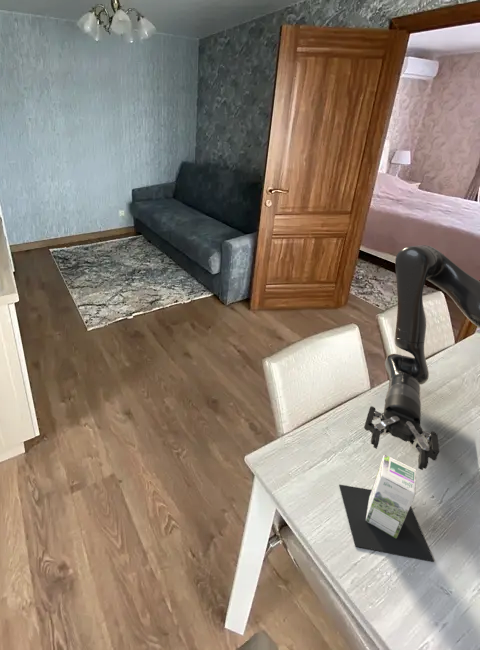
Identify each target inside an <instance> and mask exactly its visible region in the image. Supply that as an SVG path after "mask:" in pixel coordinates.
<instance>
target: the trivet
mask: <svg viewBox="0 0 480 650" xmlns="http://www.w3.org/2000/svg"><path fill="white" fill-rule="evenodd" d="M338 486H339V490H340V495H341V498H342V501H343V505H344V509H345V513H346V517H347V521H348V524H349V528H350V532H351V536H352V539H353V543H354V547H355V548H359V549H364V550H368V551H375V552H380V553H385V554H391V555H395V556H401V557H406V558H412V559H417V560H422V561H427V562H432V563H433V562H435V560H434V558H433V555H432V552H431V550H430V548H429V546H428V543H427V541H426V539H425V537H424V534H423V532H422V530H421V527H420V524H419V522H418V519H417V517H416V515H415V513H414V511H413V509H412V505H411V506H410V509H409V511H408V513H407V515H406V518H405V520H404V522H403V525H402V527H401V529H400V532H399V534H398V536H397V538H394V537H392V536H390V535H389V534H387V533H385V532H384V531H382V530H380V529H378V528H377V527H375V526H373V525H371V524H370V523H368V522H366V515H367V508H368V502H369V496H370V493H371V491H372V489H369V488H364V487H363V488H362V487H357V486H352V485H346V484H339V485H338Z"/></svg>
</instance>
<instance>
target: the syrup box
mask: <svg viewBox="0 0 480 650" xmlns="http://www.w3.org/2000/svg"><path fill="white" fill-rule="evenodd" d="M379 464H380V465H379V468H378V469H377V473H376V476H375V479H374V482H373V485H372V488H371V490H372V491H371V493H370V496H369V502H368V508H367V515H366V522H368V523H370V524H371V525H373V526H375V527H377V528H378V529H380V530H382V531H384V532H385V533H387V534H389V535H390V536H392V537H394V538H397V536H398V534H399V532H400V529H401V527H402V525H403V522H404V520H405V518H406V515H407V513H408V511H409V509H410V506H411V507H412V504H413V503H414V502H413V501H414V499H415V497H416V492H417V491H416V490H417V489H416V488H417V469H416V468H414V467H412V466H410V465H408V464H405V463H403V462H401V461H399V460H397V459H394V458H393V457H391V456H389V455H387V454H383V456H382V459H381V462H380V463H379Z"/></svg>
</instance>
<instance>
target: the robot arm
mask: <svg viewBox="0 0 480 650" xmlns="http://www.w3.org/2000/svg"><path fill="white" fill-rule="evenodd" d="M394 262H395V263H394V264H395V278H396V291H397V293H396V295H397V296H396V297H397V312H396V326H395V334H394V344H395V346H396V347H397V348H398V349H400V350H403V351H405V352H407V353H409V354H411V355H412V356H413V357H412V356H407V355H403V354H399V353H391V354H388V356H386V357H385V360H384V370H385V374H386V376H387V379H388V389H387V392H386V394H385V399H384V410H383V412H379V411H377V410H376V407H375V406H372V405H371V406H370V407H369V410H368V413H367V415H366V419H365V423H364V425H363V429H364V430H365V431H369V432H370V433H371V438H370V444H371V445H373V446H372V448H374V449H378V447H379V443H380V437H381V436H386V435H389V434H390V435H391V436H392V437H395V438H397V439H400V440H402V441H403V442H405V443H409V445H410V446H411V448H412V449H413V450H415V451H416V453H418V459H417V460H418V463H417V466H418V467H417V469H418V470H421V471H423V470H426V469H427V468H428V465H429V459H430V460H432V461H437V458H438V456H439V454H440V445H439V437H438V433H437V432H435V431H433V430H432V431H430V432H428V431H426V430H423V428H422V426H421V417H422V416H421V415H422V401H421V385H424V384H426V383H427V381H428V380H429V377H430V372H429V368H428V364H427V359H426V353H425V342H426V333H427V317H426V311H425V308H424V302H423V300H424V299H423V296H424V295H423V294H424V287H425V284H426V281H428V282H430V283H431V284H433V285H434V286H436V287H437V288H439V289H440V290H441V291H443V292H444V293H446V294H447V295H448V296H449V298H450V299H451V300H452V301H453V302H454V304H455V305H456V307H458V309H459V310H460V311H461V313H462V314H463V315H464V316H465V317H466V318H467V320H469V321H470V322H471V323H472V324H473V325H474V326H476V327H477V328H478V329H480V280H479V279H477V278H475V277H474V276H472V275H470V274H469V273H467V272H466V271H465V270H463V269H462V268H460V267H459V266H458V265H457V264H455V262H453V261H452V260H451V259H450V258H449V257H447V256H446V255H445V254H444V253H442V252H441V251H440V250H438V249H437V248H435V247H433V246H431V245H427V244H418V245H410V246H406V247H404V248H402V249H400V250H399V251H398V253H396V257H395V261H394ZM378 419H380V422H378V423H375V424H374V423H373V421H376V420H378ZM424 440H425V441H424Z"/></svg>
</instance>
